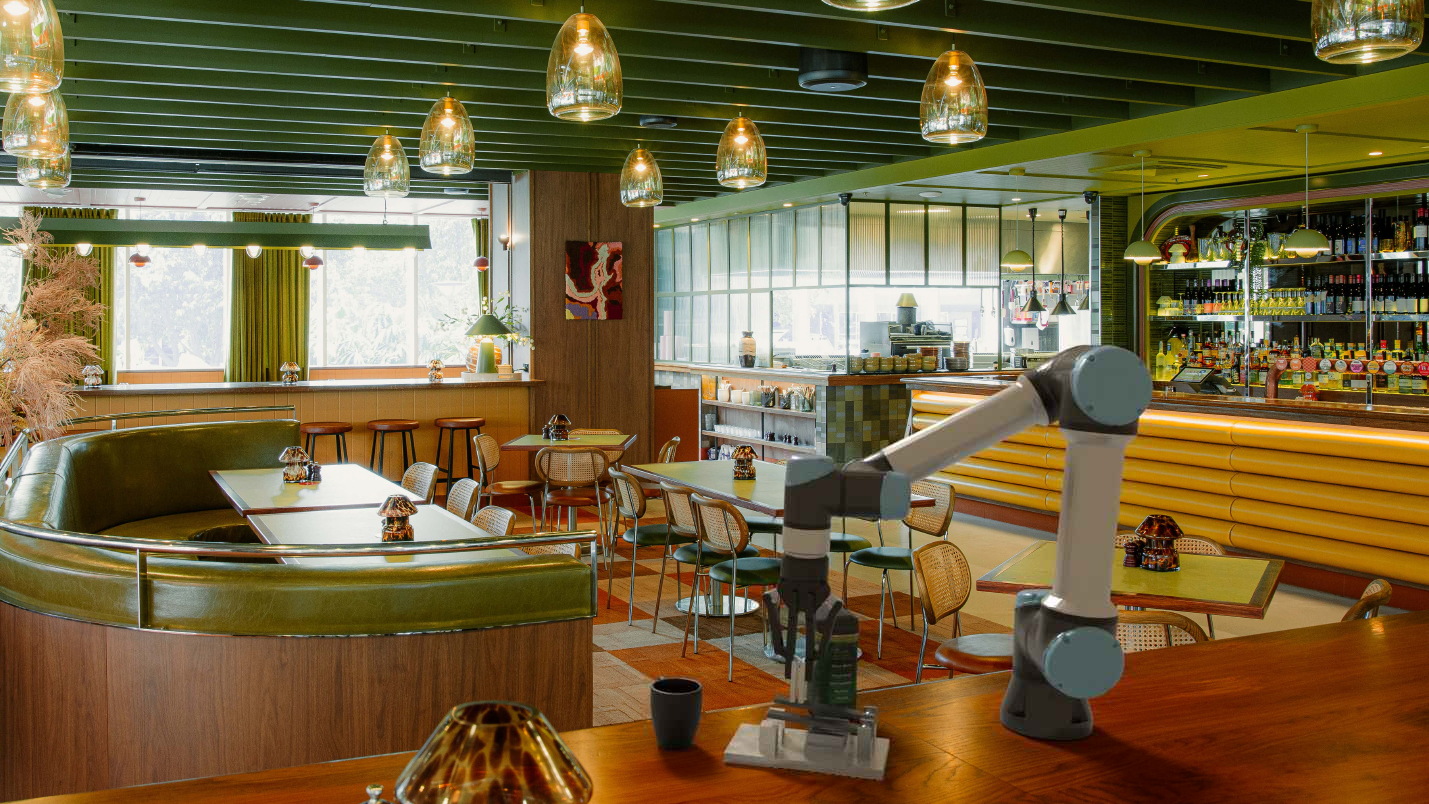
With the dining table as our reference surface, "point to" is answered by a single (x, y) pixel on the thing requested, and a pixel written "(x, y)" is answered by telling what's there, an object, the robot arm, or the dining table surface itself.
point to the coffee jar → (835, 663)
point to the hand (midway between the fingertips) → (797, 699)
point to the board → (796, 752)
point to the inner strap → (822, 707)
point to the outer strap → (815, 721)
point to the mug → (675, 711)
